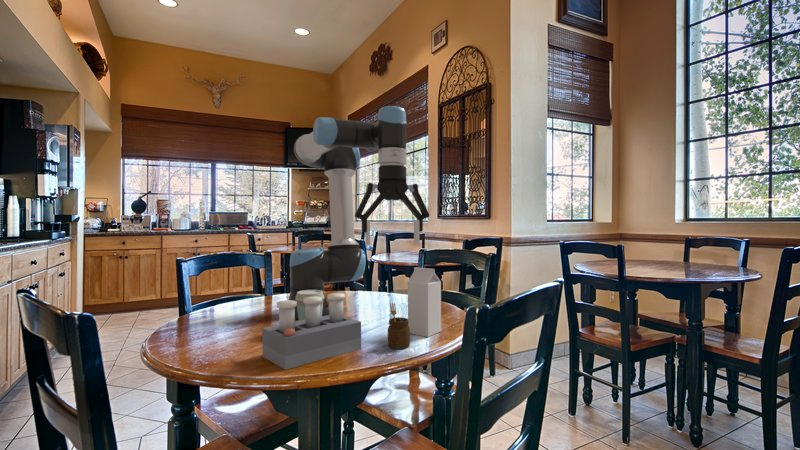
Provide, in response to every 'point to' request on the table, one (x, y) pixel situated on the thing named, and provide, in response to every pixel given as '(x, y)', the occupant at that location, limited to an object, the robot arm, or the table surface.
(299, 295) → the coffee cup
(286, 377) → the table surface
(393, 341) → the utensil holder
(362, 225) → the robot arm
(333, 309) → the knob far
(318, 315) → the knob middle
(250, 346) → the table surface
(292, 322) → the white capped tube
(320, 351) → the grey tube rack
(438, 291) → the milk carton
